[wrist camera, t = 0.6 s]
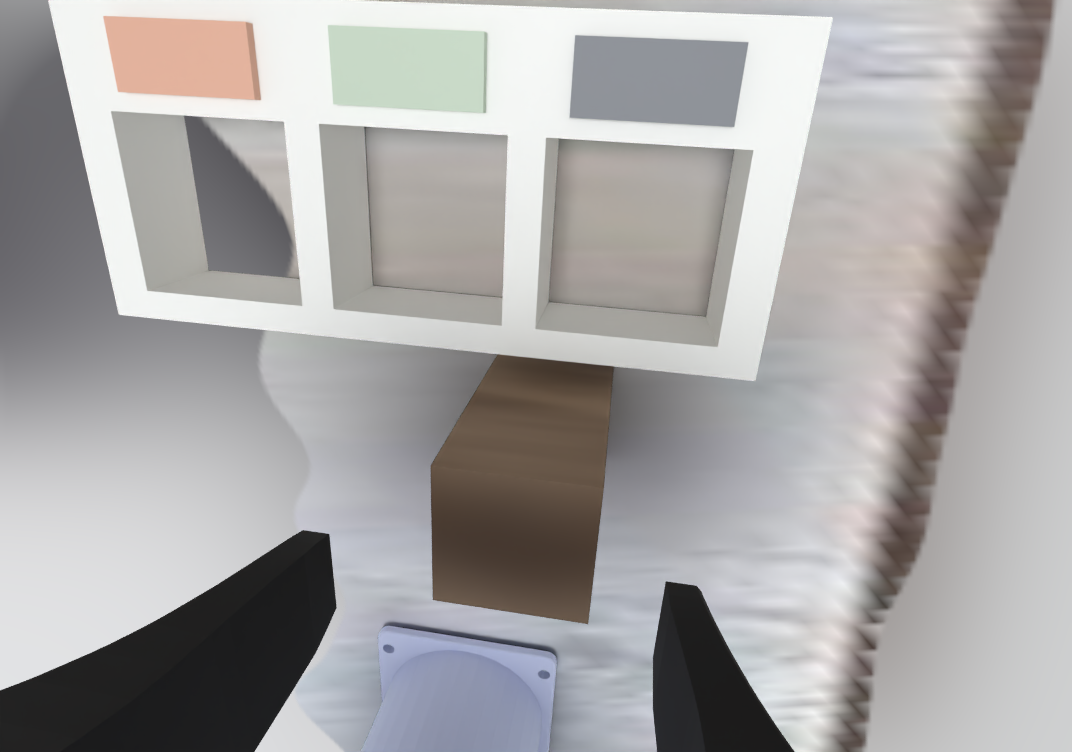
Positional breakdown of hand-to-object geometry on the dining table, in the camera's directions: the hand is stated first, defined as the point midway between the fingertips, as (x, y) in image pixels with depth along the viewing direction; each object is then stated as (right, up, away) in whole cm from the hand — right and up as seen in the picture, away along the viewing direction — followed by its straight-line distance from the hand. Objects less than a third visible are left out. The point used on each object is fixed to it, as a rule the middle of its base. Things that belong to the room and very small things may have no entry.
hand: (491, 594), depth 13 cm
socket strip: (-2, +11, +7) cm, 13 cm away
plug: (+2, +4, +9) cm, 10 cm away
